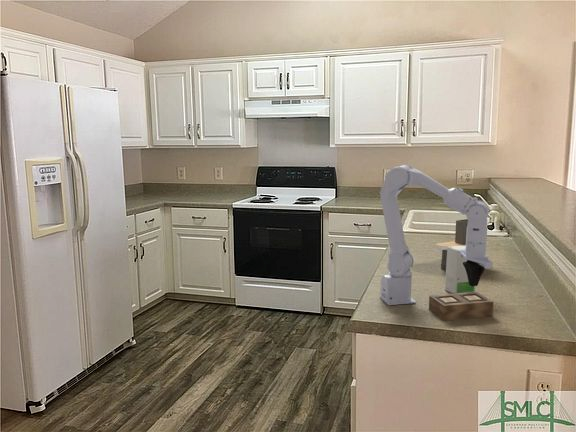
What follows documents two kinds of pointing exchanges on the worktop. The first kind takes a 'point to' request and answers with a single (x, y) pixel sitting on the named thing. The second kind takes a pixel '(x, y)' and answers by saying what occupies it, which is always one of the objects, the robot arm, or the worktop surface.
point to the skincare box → (456, 272)
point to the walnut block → (460, 306)
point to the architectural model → (459, 240)
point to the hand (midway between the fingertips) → (473, 285)
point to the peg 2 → (472, 297)
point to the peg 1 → (448, 299)
